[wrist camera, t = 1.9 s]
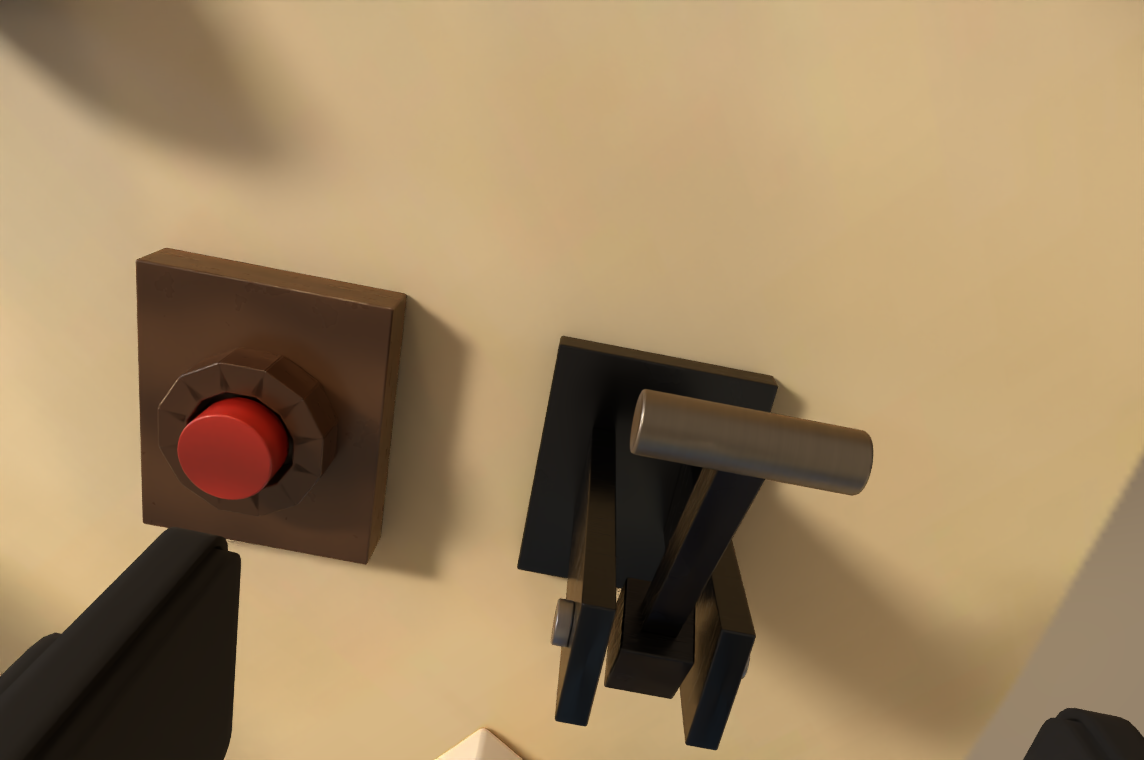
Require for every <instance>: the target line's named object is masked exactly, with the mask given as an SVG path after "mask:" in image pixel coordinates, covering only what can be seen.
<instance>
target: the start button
mask: <svg viewBox="0 0 1144 760" xmlns="http://www.w3.org/2000/svg"><path fill="white" fill-rule="evenodd" d="M288 450H289V441H288V436H287V432H286V430H285V428H284V426H283V424H282V422H281V421H280V419H279V418H278V417H277V416H276V415H275V414H274V413H273V412H272V411H271V410H270V409H269V408H267V407H266V406H264V405H263V404H261V403H259V402H256V401H254V400H251V399H247V398H240V397H231V398H225V399H221V400H219V401H216V402H215V403H213V404H211V405H210V406H209V407H208V408H207V409H205V410H204V411H203V412H202V413H201V414H199V415H198V416H197V417H196V418H195V419H193V420H192V421H191V422H190V423H189V424H188V425H187V426H186V427H185V428H184V429H183V431H182V433H181V435H180V437H179V441H178V448H177V451H178V458H179V462H180V465H181V467H182V469H183V471H184V473H185V474H186V475H187V477H188V478H189V479H190V480H191V481H192V482H193V483H194V484H195V485H196V486H197V487H198V488H200V489H201V490H203V491H204V492H206V493H208V494H210V495H212V496H215V497H218V498H222V499H228V500H238V499H244V498H248V497H251V496H253V495H255V494H257V493H258V492H260V491H261V490H262V489H263V488H264V487H265V486H266V485H267V484H268V482H269V481H270V480H271V479H272V478H273V476H274V475H275V474H276V473H277V472H278V470H279V469H280V468H281V467H282V465H283V464H284V463H285V460H286V458H287V455H288Z"/></svg>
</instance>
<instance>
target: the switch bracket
mask: <svg viewBox="0 0 1144 760" xmlns="http://www.w3.org/2000/svg"><path fill="white" fill-rule="evenodd" d="M645 389H648V390H654V391H659V392H664V393H669V394H675V395H680V396H685V397H690V398H695V399H701V400H706V401H711V402H716V403H722V404H727V405H732V406H737V407H743V408H748V409H753V410H758V411H764V412H769V413H770V412H771V409H772V406H773V402H774V399H775V396H776V393H777V389H778V385H777V383H776V381H775V380H774V378H773V376H769V375H764V374H759V373H754V372H748V371H743V370H738V369H733V368H728V367H722V366H717V365H712V364H707V363H702V362H696V361H691V360H686V359H681V358H676V357H670V356H665V355H660V354H655V353H649V352H644V351H639V350H634V349H629V348H623V347H618V346H613V345H608V344H603V343H597V342H592V341H587V340H582V339H577V338H571V337H566V336H562V337H561V338H560V343H559V349H558V354H557V359H556V364H555V370H554V375H553V380H552V386H551V391H550V396H549V401H548V407H547V412H546V417H545V423H544V428H543V433H542V438H541V444H540V449H539V454H538V459H537V465H536V470H535V475H534V481H533V486H532V491H531V496H530V502H529V507H528V512H527V518H526V523H525V528H524V533H523V539H522V544H521V549H520V555H519V560H518V565H517V568H518V569H520V570H525V571H531V572H536V573H541V574H547V575H552V576H558V577H563V578H568V581H567V592H566V599H561V598H560V599H559V600H558V603H557V607H556V612H555V617H554V622H553V628H552V635H551V644H552V645H556V646H561V657H560V668H559V678H558V689H557V700H556V711H555V720H556V721H558V722H563V723H569V724H574V725H580V726H587V724H588V720H589V716H590V712H591V708H592V704H593V701H594V697H595V693H596V689H597V685H598V681H599V677H600V673H601V669H602V665H603V661H604V657H605V653H606V649H607V645H608V641H609V637H610V633H611V629H612V625H613V622H614V618H615V614H616V587H617V588H623V585H624V583H625V580H626V578H628V577H629V578H635V579H640V580H646V581H651V582H652V579H653V577H654V575H655V573H656V570H657V568H658V566H659V564H660V562H661V559H662V557H663V555H664V553H665V551H666V548H667V546H668V544H669V542H670V539H671V537H672V535H673V533H674V531H675V528H676V526H677V524H678V522H679V520H680V517H681V515H682V513H683V511H684V508H685V506H686V504H687V502H688V500H689V497H690V495H691V493H692V491H693V489H694V486H695V484H696V482H697V480H698V477H699V475H700V473H701V471H702V469H703V467H698V466H693V465H688V464H682V463H677V462H672V461H667V460H661V459H656V458H651V457H645V456H640V455H635V454H633V453H631V450H630V436H631V429H632V422H633V417H634V412H635V408H636V404H637V401H638V398H639V395H640V393H641V392H642V390H645ZM755 638H756V634H755V630H754V626H753V622H752V618H751V614H750V610H749V606H748V602H747V598H746V594H745V590H744V586H743V582H742V578H741V574H740V570H739V566H738V562H737V558H736V554H735V550H734V546H733V542H732V540H731V541H730V543H729V545H728V547H727V549H726V550H725V552H724V554H723V556H722V557H721V559H720V561H719V563H718V565H717V566H716V568H715V570H714V572H713V573H712V575H711V577H710V579H709V581H708V582H707V584H706V586H705V588H704V590H703V591H702V593H701V595H700V597H699V598H698V600H697V602H696V608H695V663H694V665H693V666H692V668H691V669H690V671H689V673H688V674H687V676H686V677H685V679H684V681H683V682H682V684H681V685H680V696H681V706H682V715H683V725H684V734H685V743H686V745H689V746H695V747H700V748H706V749H711V750H717V749H718V746H719V743H720V740H721V737H722V735H723V732H724V729H725V726H726V723H727V720H728V717H729V714H730V711H731V708H732V705H733V702H734V699H735V696H736V694H737V691H738V688H739V685H740V682H741V679H743V678H744V677H745V675H746V673H747V670H748V666H749V661H750V653H751V650H752V647H753V644H754V641H755Z"/></svg>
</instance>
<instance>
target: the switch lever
mask: <svg viewBox="0 0 1144 760" xmlns="http://www.w3.org/2000/svg"><path fill="white" fill-rule="evenodd" d="M630 450H631V453H633V454H635V455H640V456H645V457H651V458H656V459H661V460H667V461H672V462H677V463H682V464H688V465H693V466H698V467H703V469H702V471H701V473H700V475H699V477H698V480H697V482H696V484H695V486H694V489H693V491H692V493H691V495H690V497H689V500H688V502H687V504H686V506H685V508H684V511H683V513H682V515H681V517H680V520H679V522H678V524H677V526H676V528H675V531H674V533H673V535H672V537H671V539H670V542H669V544H668V546H667V548H666V551H665V553H664V555H663V557H662V559H661V562H660V564H659V566H658V568H657V570H656V573H655V575H654V577H653V579H652V582H651V581H646V580H640V579H635V578H629V577H628V578H626V580H625V583H624V585H623V588H622V590H621V593H620V595H619V598H618V600H617V603H616V614H615V618H614V622H613V625H612V629H611V633H610V637H609V641H608V649H607V659H606V670H605V680H604V686H605V687H609V688H614V689H619V690H625V691H630V692H636V693H641V694H647V695H652V696H658V697H663V698H669V699H672V698H673V696H674V695H675V693H676V692H677V690H678V688H679V687H680V685H681V684H682V682H683V681H684V679H685V677H686V676H687V674H688V673H689V671H690V669H691V668H692V666H693V665H694V663H695V608H696V602H697V600H698V598H699V597H700V595H701V593H702V591H703V590H704V588H705V586H706V584H707V582H708V581H709V579H710V577H711V575H712V573H713V572H714V570H715V568H716V566H717V565H718V563H719V561H720V559H721V557H722V556H723V554H724V552H725V550H726V549H727V547H728V545H729V543H730V541H731V540H732V538H733V536H734V534H735V532H736V531H737V529H738V527H739V525H740V524H741V522H742V520H743V518H744V516H745V515H746V513H747V511H748V509H749V508H750V506H751V504H752V502H753V500H754V499H755V497H756V495H757V493H758V491H759V490H760V488H761V486H762V484H763V483H764V481H765V479H767V480H772V481H778V482H783V483H788V484H793V485H799V486H804V487H809V488H815V489H820V490H825V491H830V492H836V493H841V494H846V495H857V494H859V493H860V492H861V491H862V490H863V489H864V487H865V485H866V484H867V481H868V479H869V476H870V473H871V469H872V463H873V444H872V440H871V437H870V436H869V434H868V433H866V432H865V431H863V430H858V429H853V428H847V427H842V426H837V425H832V424H826V423H821V422H816V421H811V420H805V419H800V418H795V417H790V416H784V415H779V414H774V413H769V412H764V411H758V410H753V409H748V408H743V407H737V406H732V405H727V404H722V403H716V402H711V401H706V400H701V399H695V398H690V397H685V396H680V395H675V394H669V393H664V392H659V391H654V390H648V389H645V390H642V392H641V393H640V395H639V398H638V401H637V404H636V408H635V412H634V417H633V422H632V429H631V436H630Z"/></svg>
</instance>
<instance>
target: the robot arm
mask: <svg viewBox="0 0 1144 760" xmlns="http://www.w3.org/2000/svg"><path fill="white" fill-rule="evenodd" d="M240 573H241V558H240V555H239V554H238V553H235V552H230V551H228V544H227V542H226V539H225V538H224V537H222V536H218V535H213V534H208V533H203V532H198V531H193V530H188V529H183V528H178V527H171V528H168V529H167V530H166V531H164V532H163V533H162V534H161V535H160V536H159V537H158V538H157V539H156V540H155V541H154V542H153V543H152V544H151V545H150V546H149V547H148V548H147V549H146V550H145V551H144V552H143V553H142V554H141V555H140V556H139V557H138V558H137V559H136V560H135V561H134V562H133V563H132V564H131V565H130V566H129V567H128V568H127V569H126V570H125V571H124V572H123V573H122V574H121V575H120V576H119V577H118V578H117V579H116V580H115V581H114V582H113V583H112V584H111V585H110V586H109V587H108V588H107V589H106V590H105V591H104V592H103V593H102V594H101V595H100V596H99V597H98V598H97V599H96V600H95V601H94V602H93V603H92V604H91V605H90V606H89V607H88V608H87V609H86V610H85V611H84V612H83V613H82V614H81V615H80V616H79V617H78V618H77V619H76V620H75V621H74V622H73V623H72V624H71V625H70V626H69V627H68V628H67V629H66V630H65V631H64V632H63V633H62V634H59V633H53V634H50V635H48V636H45V637H43V638H42V639H40V640H39V641H38V642H36V643H35V644H34V645H33V646H31V647H30V648H29V649H28V650H27V651H26V652H25V653H24V654H23V655H22V656H21V657H20V658H19V659H18V660H17V661H16V662H15V663H13V664H12V665H11V666H10V667H9V668H8V669H7V670H6V671H5V672H4V673H3V674H2V675H1V676H0V760H224V757H225V755H226V752H227V749H228V746H229V743H230V738H231V732H232V717H233V699H234V681H235V663H236V645H237V627H238V609H239V591H240ZM1023 760H1144V737H1143V736H1142V735H1141V734H1140V732H1139V731H1138V730H1137V729H1136V728H1135V727H1134V726H1133V725H1132V724H1131V723H1130V722H1129V721H1127V720H1125V719H1123V718H1121V717H1117V716H1112V715H1107V714H1101V713H1097V712H1092V711H1087V710H1082V709H1077V708H1067V709H1065V710H1063V711H1061V712H1060V713H1059V714H1058V715H1057V717H1056V718H1050V719H1048V720H1046V721H1045V723H1044V724H1043V725H1042V727H1041V729H1040V731H1039V732H1038V734H1037V736H1036V738H1035V739H1034V742H1033V743H1032V745H1031V747H1030V748H1029V750H1028V752H1027V754H1026V756H1025V757H1024V759H1023Z"/></svg>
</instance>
